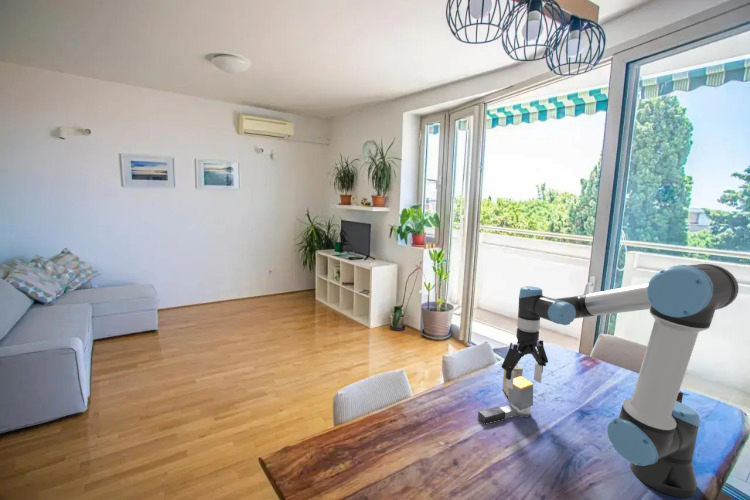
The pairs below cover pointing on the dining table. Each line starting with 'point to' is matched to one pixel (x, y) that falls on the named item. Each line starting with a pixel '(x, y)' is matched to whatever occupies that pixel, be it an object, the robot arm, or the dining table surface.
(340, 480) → the dining table surface
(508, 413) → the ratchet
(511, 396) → the grey orange-topped block
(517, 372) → the supplement box
